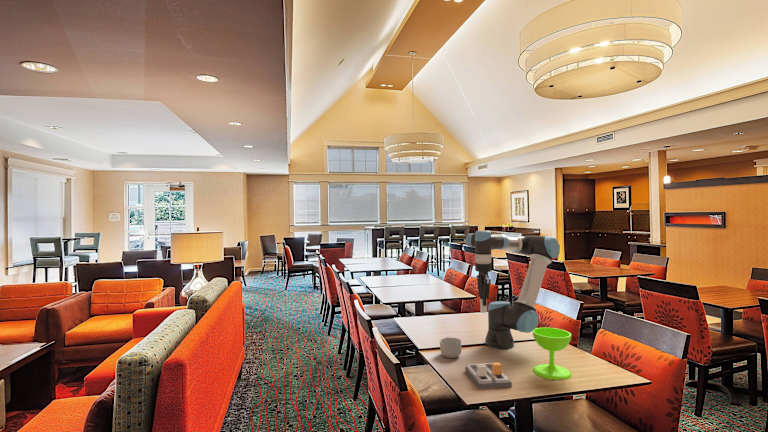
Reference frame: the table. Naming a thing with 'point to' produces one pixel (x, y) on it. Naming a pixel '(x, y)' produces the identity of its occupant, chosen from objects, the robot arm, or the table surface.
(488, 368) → the console
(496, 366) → the fader
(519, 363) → the table surface
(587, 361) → the table surface
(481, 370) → the fader
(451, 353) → the teacup
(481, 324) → the table surface
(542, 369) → the wineglass
